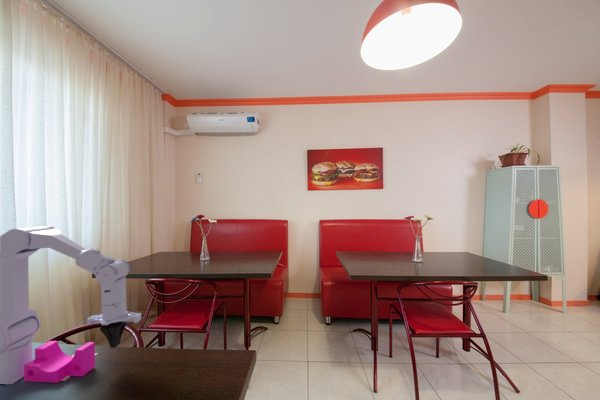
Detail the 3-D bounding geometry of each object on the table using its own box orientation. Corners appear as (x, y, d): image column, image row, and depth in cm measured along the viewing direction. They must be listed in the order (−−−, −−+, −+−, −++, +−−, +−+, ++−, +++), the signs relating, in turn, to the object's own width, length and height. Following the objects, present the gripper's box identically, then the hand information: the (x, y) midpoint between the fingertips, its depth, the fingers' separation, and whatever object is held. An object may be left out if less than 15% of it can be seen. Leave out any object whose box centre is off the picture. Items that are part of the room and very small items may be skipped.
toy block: (24, 381, 64) (23, 354, 64) (50, 365, 70) (49, 340, 70) (72, 383, 63) (72, 356, 63) (95, 366, 69) (94, 342, 69)
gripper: (77, 308, 65) (78, 356, 65) (129, 306, 66) (130, 353, 66) (98, 298, 72) (98, 340, 72) (145, 296, 73) (146, 338, 73)
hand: (115, 345), depth 69 cm, fingers closed
